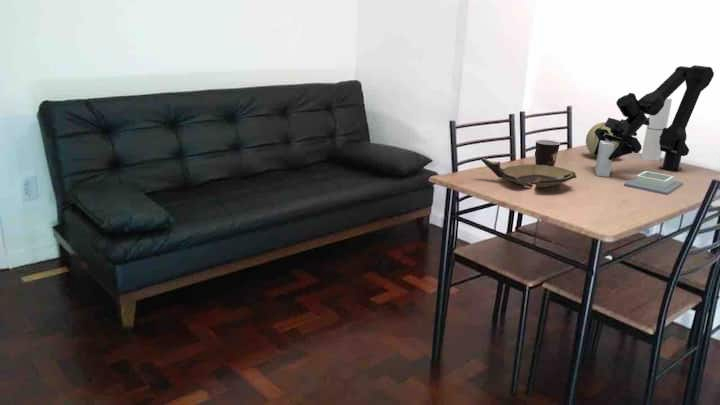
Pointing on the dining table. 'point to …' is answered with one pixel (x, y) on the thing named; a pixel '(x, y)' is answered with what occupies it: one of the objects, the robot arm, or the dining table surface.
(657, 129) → the white tall block
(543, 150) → the coffee mug
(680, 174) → the dining table surface
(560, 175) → the oil lamp
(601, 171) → the skincare box
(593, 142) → the cantaloupe
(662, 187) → the collar board
